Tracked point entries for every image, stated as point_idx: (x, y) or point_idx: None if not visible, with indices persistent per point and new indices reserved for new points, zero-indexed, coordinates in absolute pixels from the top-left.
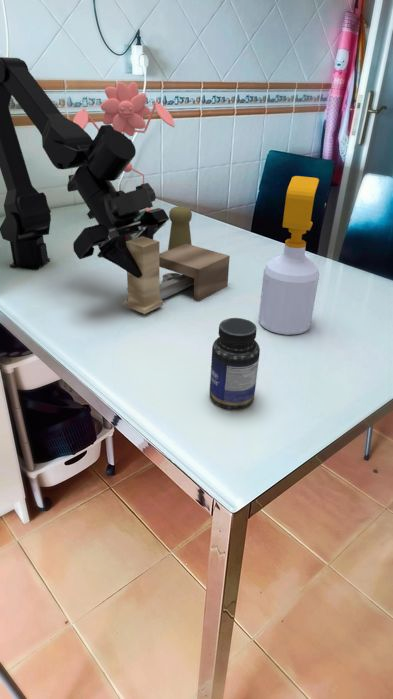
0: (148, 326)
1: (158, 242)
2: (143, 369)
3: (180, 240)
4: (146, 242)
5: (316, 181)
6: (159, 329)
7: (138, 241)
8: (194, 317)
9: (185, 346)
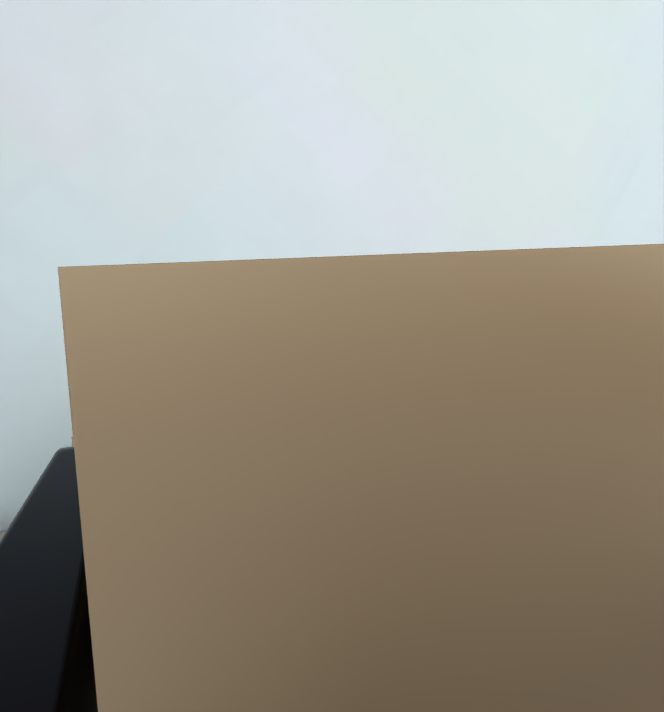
0: None
1: (110, 273)
2: (558, 69)
3: None
4: (460, 443)
5: None
6: (307, 240)
7: (594, 669)
8: (13, 183)
9: (320, 33)
